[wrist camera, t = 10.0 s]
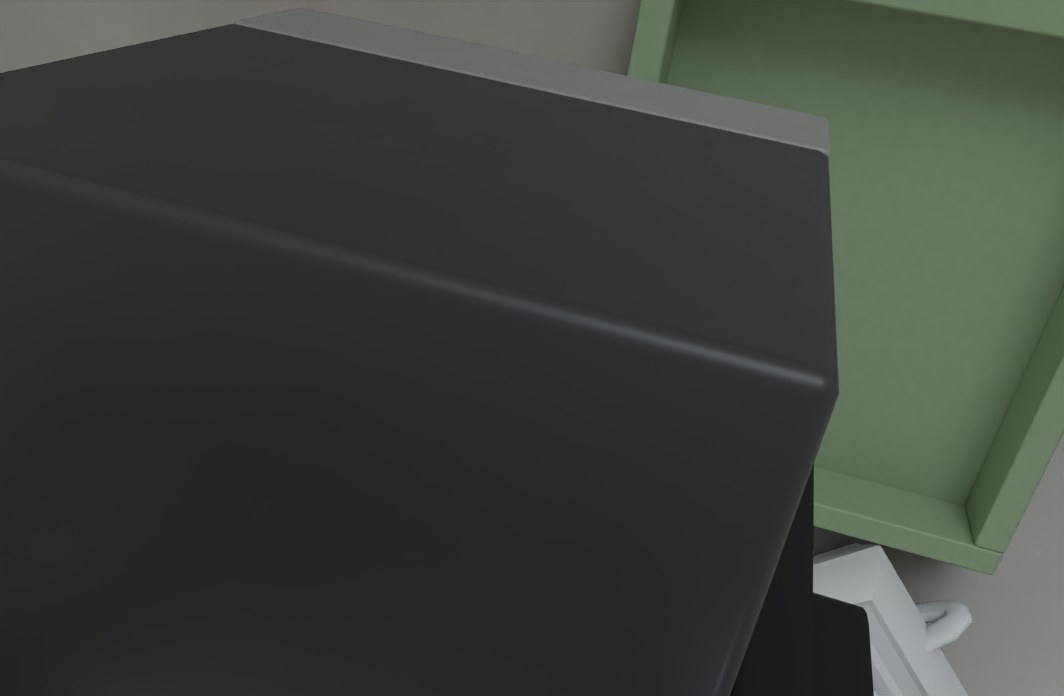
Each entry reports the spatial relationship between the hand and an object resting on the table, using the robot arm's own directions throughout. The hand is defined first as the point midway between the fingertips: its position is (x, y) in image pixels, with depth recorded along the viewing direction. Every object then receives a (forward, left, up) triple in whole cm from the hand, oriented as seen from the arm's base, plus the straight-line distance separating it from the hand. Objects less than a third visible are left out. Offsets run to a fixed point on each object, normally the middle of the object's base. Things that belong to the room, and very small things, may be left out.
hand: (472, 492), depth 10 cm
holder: (+2, +5, -18) cm, 18 cm away
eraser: (0, 0, -1) cm, 1 cm away
